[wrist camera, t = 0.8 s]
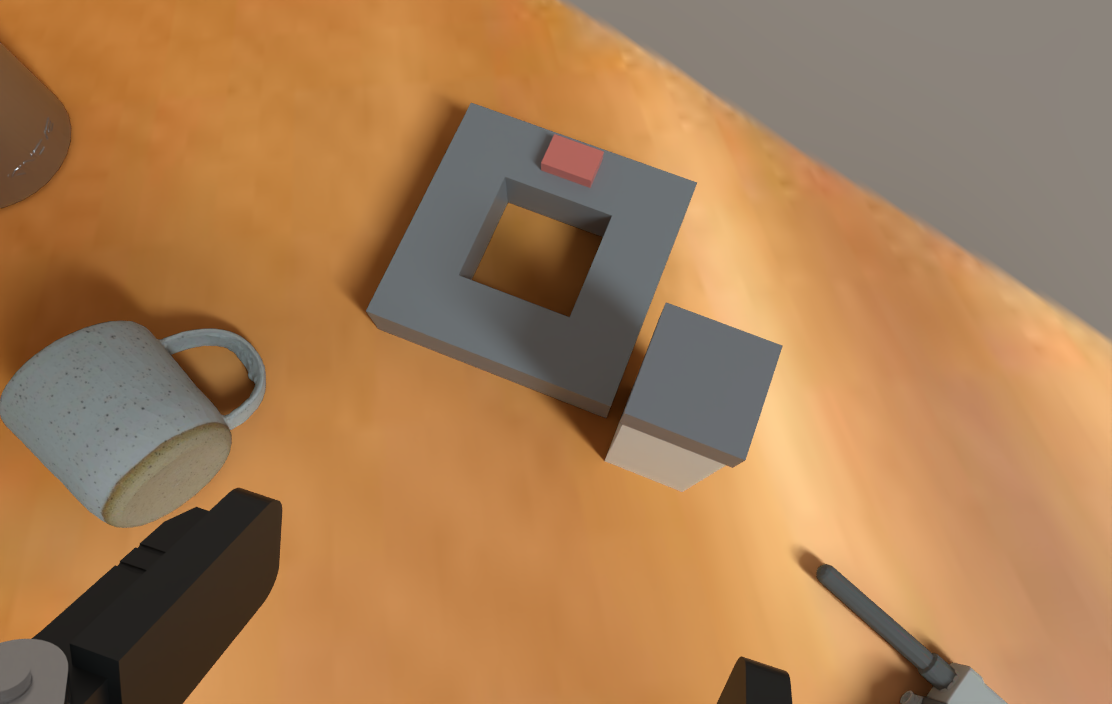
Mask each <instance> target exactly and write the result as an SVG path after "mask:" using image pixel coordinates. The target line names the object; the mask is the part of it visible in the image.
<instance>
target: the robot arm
mask: <svg viewBox="0 0 1112 704" xmlns="http://www.w3.org/2000/svg"><path fill="white" fill-rule="evenodd" d="M70 140H71V125H70V120H69V116H68V113H67V111H66V109H65V108H64V106H63V104H62V103H61V102H60V100H59V99H58V98H57V97H56V96H55V95H54V94H53V93H52V92H51V91H50V90H49V89H48V88H47V87H46V86H45V85H44V84H43V83H42V82H41V81H40V80H39V79H38V78H37V77H36V76H34V75H33V74H32V73H31V72H30V71H29V70H28V69H27V68H26V67H25V66H24V65H23V64H22V63H21V62H20V61H19V60H18V59H17V58H16V57H15V56H14V55H13V54H12V53H11V52H10V51H9V50H8V49H7V48H6V47H5V46H4V45H3V44H2V43H1V42H0V208H3V207H6V206H9V205H12V204H14V203H17V202H19V201H22V200H23V199H25V198H27V197H28V196H30V195H32V194H33V193H35V192H37V191H38V190H39V189H40V188H41V187H42V186H44V185H45V184H46V183H47V182H48V181H49V180H50V179H51V178H52V177H53V175H54V174H55V173H56V172H57V170H58V169H59V168H60V166H61V164H62V162H63V160H64V159H65V157H66V155H67V151H68V148H69V144H70ZM281 524H282V505H281V502H280V501H278V500H275V499H272V498H269V497H266V496H263V495H260V494H257V493H254V492H251V491H248V490H245V489H242V488H236V489H234V490H232V491H231V492H229V493H228V494H227V495H226V496H225V497H224V498H223V499H222V500H221V501H220V502H219V503H218V504H216V505H215V506H214V507H213V508H212V509H211V510H210V511H207V510H204V509H201V508H198V507H195V508H193V509H191V510H189V511H187V512H184V513H182V514H180V515H178V516H176V517H174V518H171V519H169V520H167V521H165V522H164V523H162V524H161V525H160V526H159V527H158V528H157V529H156V530H155V531H153V532H152V533H151V534H150V535H149V536H148V537H147V538H146V539H144V540H143V541H142V542H141V543H140V546H139V547H138V548H134V549H133V550H132V551H131V552H130V553H129V554H127V555H126V556H125V557H124V558H123V559H122V560H121V561H120V564H119V565H118V566H114V567H113V568H112V569H111V570H109V571H108V572H107V573H106V574H105V575H104V576H103V577H102V578H100V579H99V580H98V581H97V582H96V583H95V584H94V585H93V586H91V587H90V588H89V589H88V590H87V591H86V592H85V593H84V594H82V595H81V596H80V597H79V598H78V599H77V600H76V601H75V602H73V603H72V604H71V605H70V606H69V607H68V608H67V609H66V610H64V611H63V612H62V613H61V614H60V615H59V616H58V617H56V618H55V619H54V620H53V621H52V622H51V623H50V624H49V625H47V626H46V627H45V628H44V629H43V630H42V631H41V632H39V633H38V634H37V635H36V636H34V637H33V638H32V639H18V640H11V641H7V642H2V643H0V704H183V702H184V701H185V700H186V699H187V697H188V696H189V695H190V694H191V692H192V691H193V690H194V689H195V688H196V686H197V685H198V684H199V683H200V681H201V680H202V679H203V678H204V676H205V675H206V674H207V673H208V671H209V670H210V669H211V668H212V666H213V665H214V664H215V663H216V661H217V660H218V659H219V658H220V656H221V655H222V654H223V653H224V651H225V650H226V649H227V648H228V646H229V645H230V644H231V643H232V641H233V640H234V639H235V638H236V636H237V635H238V634H239V633H240V631H241V630H242V629H243V628H244V626H245V625H246V624H247V623H248V622H249V620H250V619H251V618H252V617H253V615H254V614H255V613H256V612H257V610H258V609H259V608H260V607H261V605H262V604H263V603H264V601H265V600H266V598H267V597H268V595H269V593H270V591H271V589H272V587H273V585H274V583H275V580H276V577H277V574H278V569H279V558H280V541H281ZM717 704H792V695H791V683H790V677H789V674H788V672H787V671H784V670H781V669H778V668H775V667H772V666H769V665H766V664H763V663H760V662H757V661H754V660H751V659H748V658H745V657H740V658H739V659H738V660H737V662H736V664H735V666H734V668H733V670H732V672H731V674H730V676H729V679H728V681H727V683H726V685H725V687H724V689H723V691H722V693H721V696H720V698H719V700H718V702H717Z"/></svg>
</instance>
